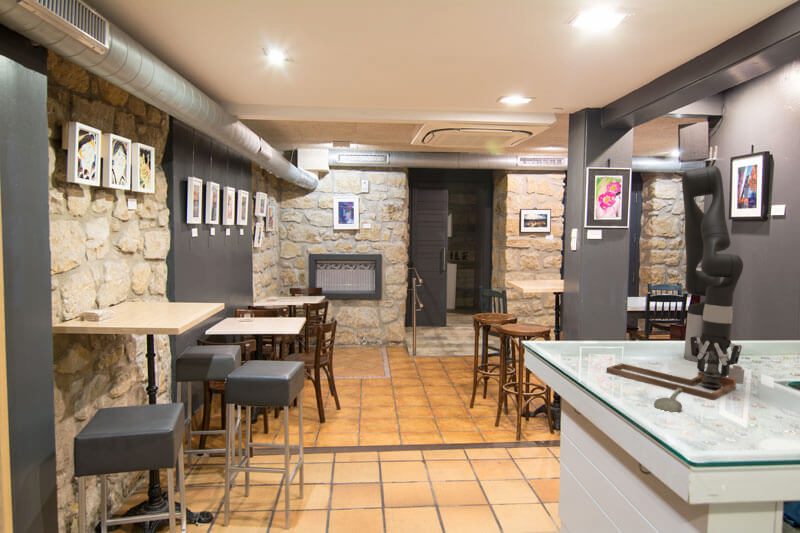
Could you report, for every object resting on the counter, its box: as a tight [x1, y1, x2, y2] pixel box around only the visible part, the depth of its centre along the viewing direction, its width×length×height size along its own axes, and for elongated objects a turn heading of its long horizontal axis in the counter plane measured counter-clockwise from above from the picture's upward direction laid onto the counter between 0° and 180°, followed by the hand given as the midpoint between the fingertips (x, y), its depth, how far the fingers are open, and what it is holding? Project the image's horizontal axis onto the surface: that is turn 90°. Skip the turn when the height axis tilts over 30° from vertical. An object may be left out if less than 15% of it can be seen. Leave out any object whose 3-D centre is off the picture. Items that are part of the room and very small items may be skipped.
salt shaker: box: [700, 351, 722, 389], centre depth 155 cm, size 6×6×12 cm
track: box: [605, 362, 737, 401], centre depth 162 cm, size 18×32×3 cm, turn 40°
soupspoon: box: [653, 388, 684, 413], centre depth 142 cm, size 22×3×7 cm
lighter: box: [719, 357, 745, 385], centre depth 163 cm, size 7×2×8 cm, turn 56°
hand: (712, 373), depth 155 cm, fingers closed on salt shaker, 6 cm apart
